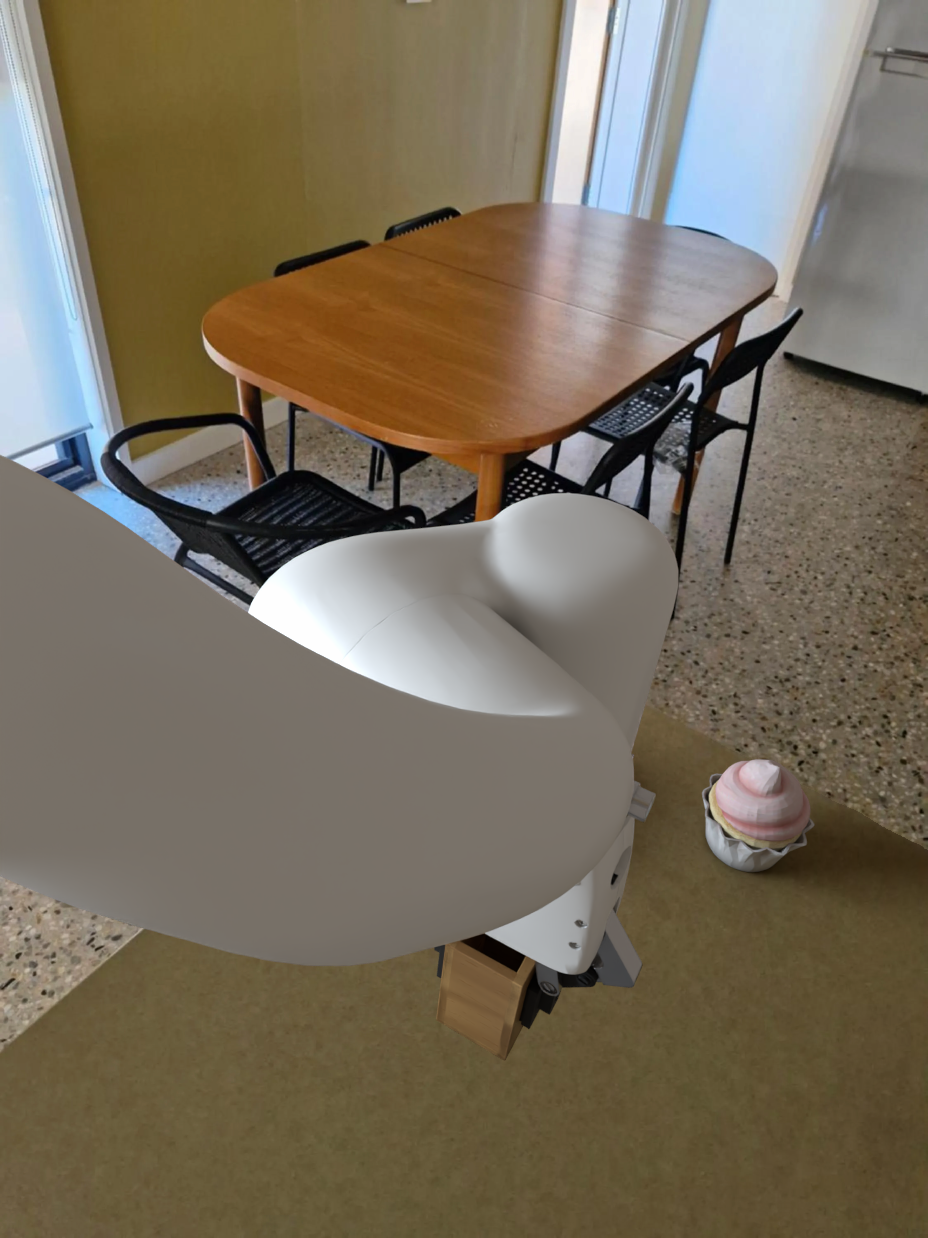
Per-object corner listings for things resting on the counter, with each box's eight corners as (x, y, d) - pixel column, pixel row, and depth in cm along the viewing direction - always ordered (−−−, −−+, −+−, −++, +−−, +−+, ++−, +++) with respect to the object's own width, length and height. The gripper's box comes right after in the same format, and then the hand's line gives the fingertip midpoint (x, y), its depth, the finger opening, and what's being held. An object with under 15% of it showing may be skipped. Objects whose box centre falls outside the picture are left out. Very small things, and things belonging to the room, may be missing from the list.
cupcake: (795, 904, 73) (836, 828, 67) (682, 870, 75) (711, 793, 69) (798, 818, 80) (835, 742, 74) (694, 789, 82) (722, 713, 76)
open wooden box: (504, 1062, 50) (522, 987, 45) (435, 1020, 51) (445, 944, 46) (542, 989, 53) (562, 913, 48) (476, 953, 55) (489, 875, 50)
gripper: (746, 790, 39) (656, 1002, 50) (417, 648, 45) (403, 867, 56) (695, 920, 34) (607, 1124, 45) (329, 739, 39) (333, 961, 51)
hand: (494, 980), depth 50 cm, fingers closed on open wooden box, 4 cm apart
